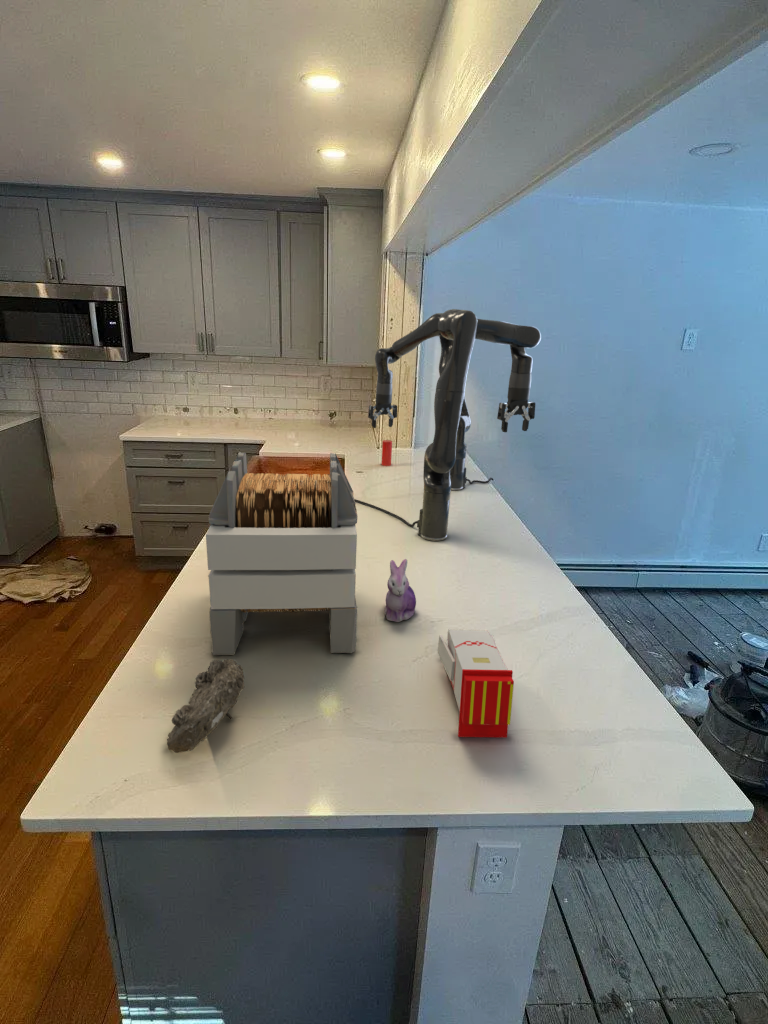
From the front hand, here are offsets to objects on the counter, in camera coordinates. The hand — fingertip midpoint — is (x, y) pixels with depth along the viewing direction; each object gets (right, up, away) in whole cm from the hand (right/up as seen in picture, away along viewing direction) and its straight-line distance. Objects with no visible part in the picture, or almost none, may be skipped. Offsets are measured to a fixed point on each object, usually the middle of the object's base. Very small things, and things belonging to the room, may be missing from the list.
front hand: (514, 431), depth 205 cm
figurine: (-43, -56, -57) cm, 91 cm away
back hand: (-48, +11, +64) cm, 81 cm away
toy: (-29, -67, -86) cm, 113 cm away
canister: (-46, -5, +83) cm, 95 cm away
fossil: (-80, -68, -97) cm, 143 cm away
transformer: (-71, -56, -61) cm, 109 cm away
